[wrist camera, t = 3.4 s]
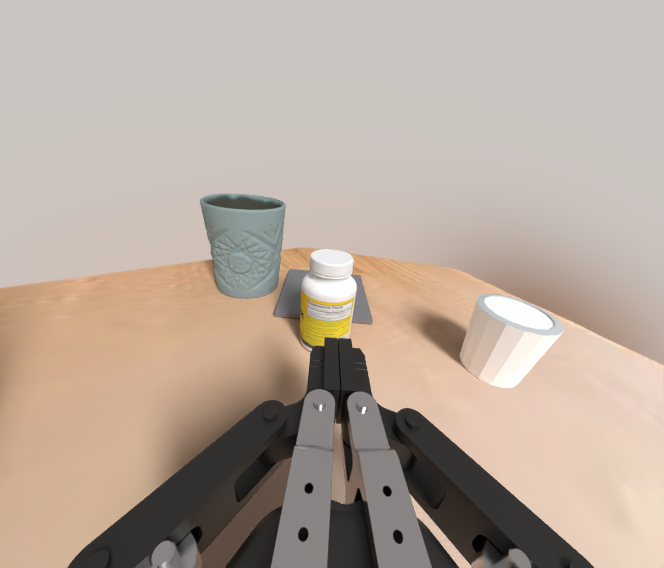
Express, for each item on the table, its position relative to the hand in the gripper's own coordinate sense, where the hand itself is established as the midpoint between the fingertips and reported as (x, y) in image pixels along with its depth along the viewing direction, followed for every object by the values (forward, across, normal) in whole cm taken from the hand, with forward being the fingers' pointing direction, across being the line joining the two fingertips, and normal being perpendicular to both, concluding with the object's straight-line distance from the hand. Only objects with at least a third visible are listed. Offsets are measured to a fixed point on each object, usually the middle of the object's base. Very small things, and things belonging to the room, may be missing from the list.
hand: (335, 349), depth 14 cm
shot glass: (+8, -17, +8) cm, 21 cm away
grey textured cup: (+21, +11, +8) cm, 25 cm away
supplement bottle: (+10, 0, +8) cm, 13 cm away
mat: (+20, 0, +8) cm, 22 cm away
